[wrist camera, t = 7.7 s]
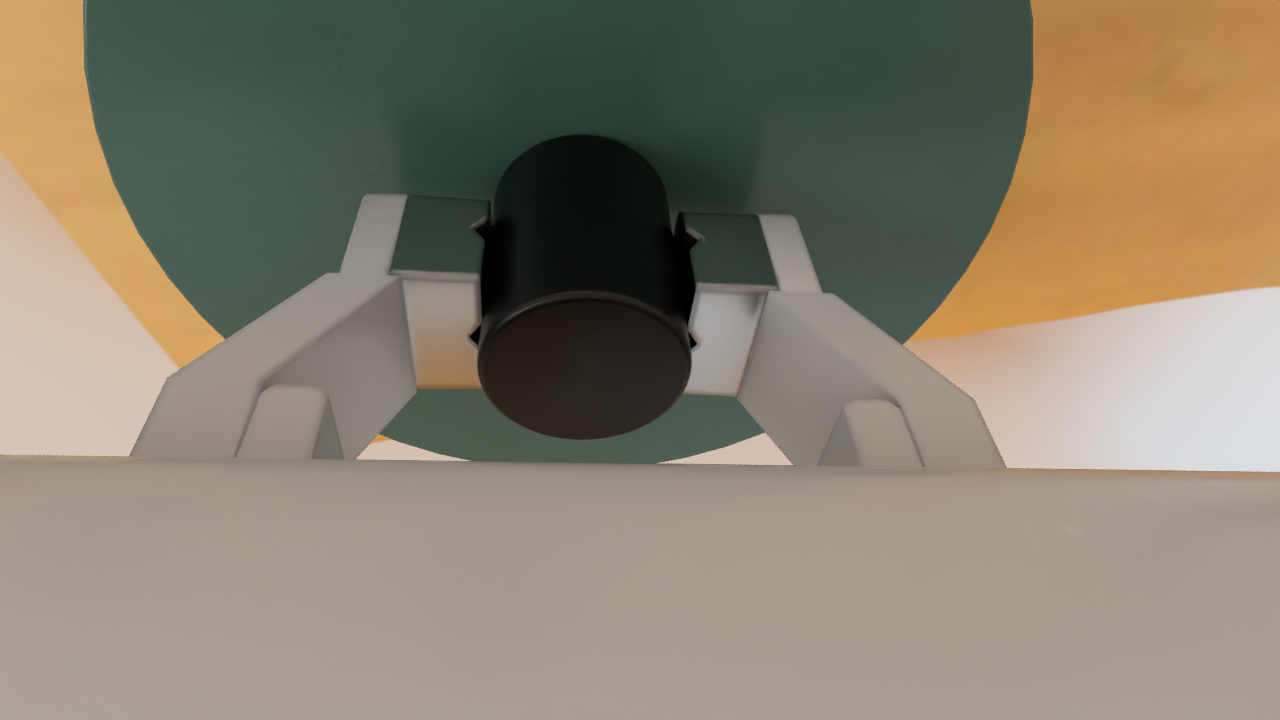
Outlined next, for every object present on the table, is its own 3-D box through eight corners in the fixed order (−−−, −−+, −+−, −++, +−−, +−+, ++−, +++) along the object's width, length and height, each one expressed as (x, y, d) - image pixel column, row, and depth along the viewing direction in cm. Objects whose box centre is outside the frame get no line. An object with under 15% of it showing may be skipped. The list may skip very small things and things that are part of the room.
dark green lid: (1199, -309, 8) (1555, -227, 5) (852, 433, 17) (913, 624, 14) (-95, -498, 7) (-615, -531, 4) (248, 421, 15) (170, 633, 12)
